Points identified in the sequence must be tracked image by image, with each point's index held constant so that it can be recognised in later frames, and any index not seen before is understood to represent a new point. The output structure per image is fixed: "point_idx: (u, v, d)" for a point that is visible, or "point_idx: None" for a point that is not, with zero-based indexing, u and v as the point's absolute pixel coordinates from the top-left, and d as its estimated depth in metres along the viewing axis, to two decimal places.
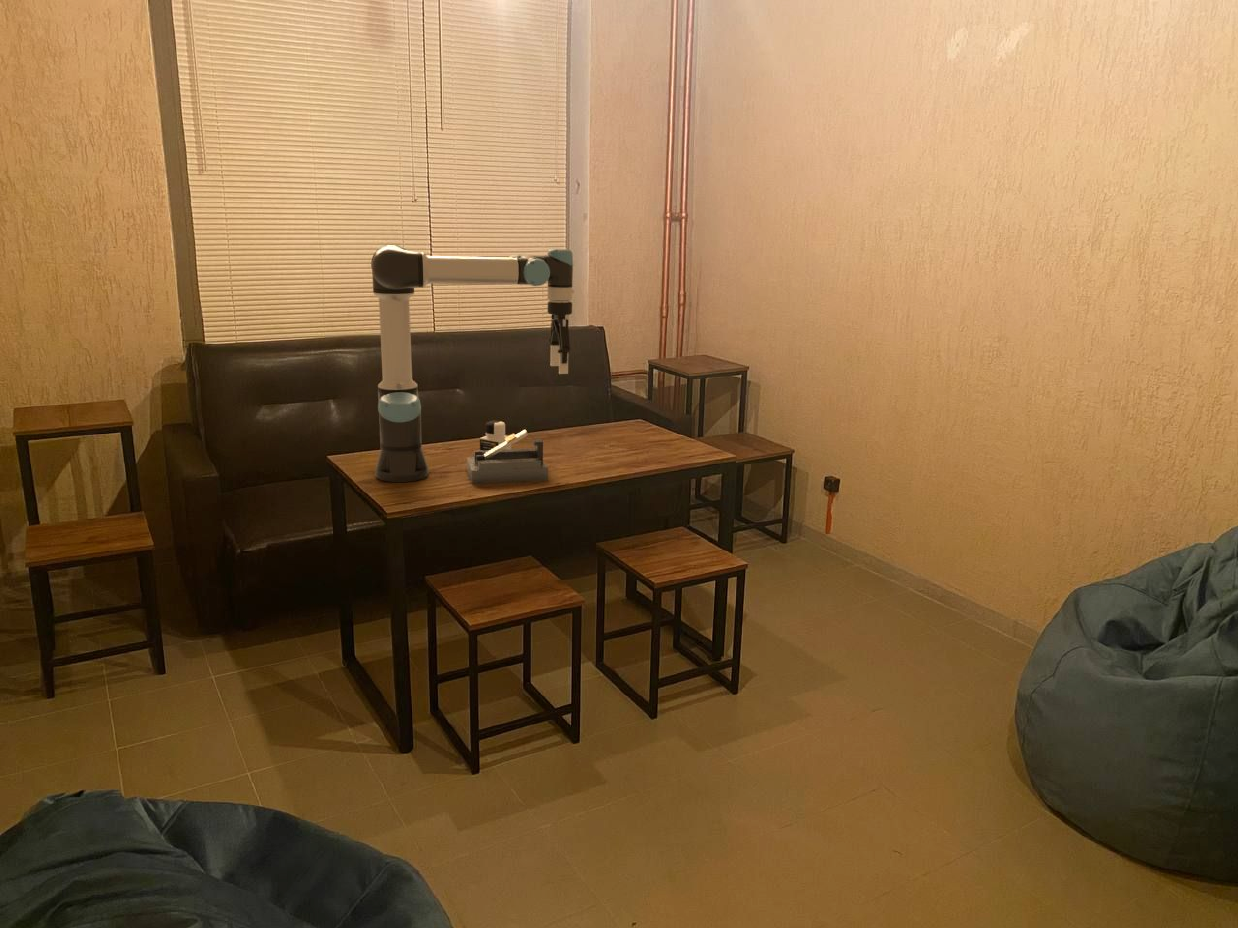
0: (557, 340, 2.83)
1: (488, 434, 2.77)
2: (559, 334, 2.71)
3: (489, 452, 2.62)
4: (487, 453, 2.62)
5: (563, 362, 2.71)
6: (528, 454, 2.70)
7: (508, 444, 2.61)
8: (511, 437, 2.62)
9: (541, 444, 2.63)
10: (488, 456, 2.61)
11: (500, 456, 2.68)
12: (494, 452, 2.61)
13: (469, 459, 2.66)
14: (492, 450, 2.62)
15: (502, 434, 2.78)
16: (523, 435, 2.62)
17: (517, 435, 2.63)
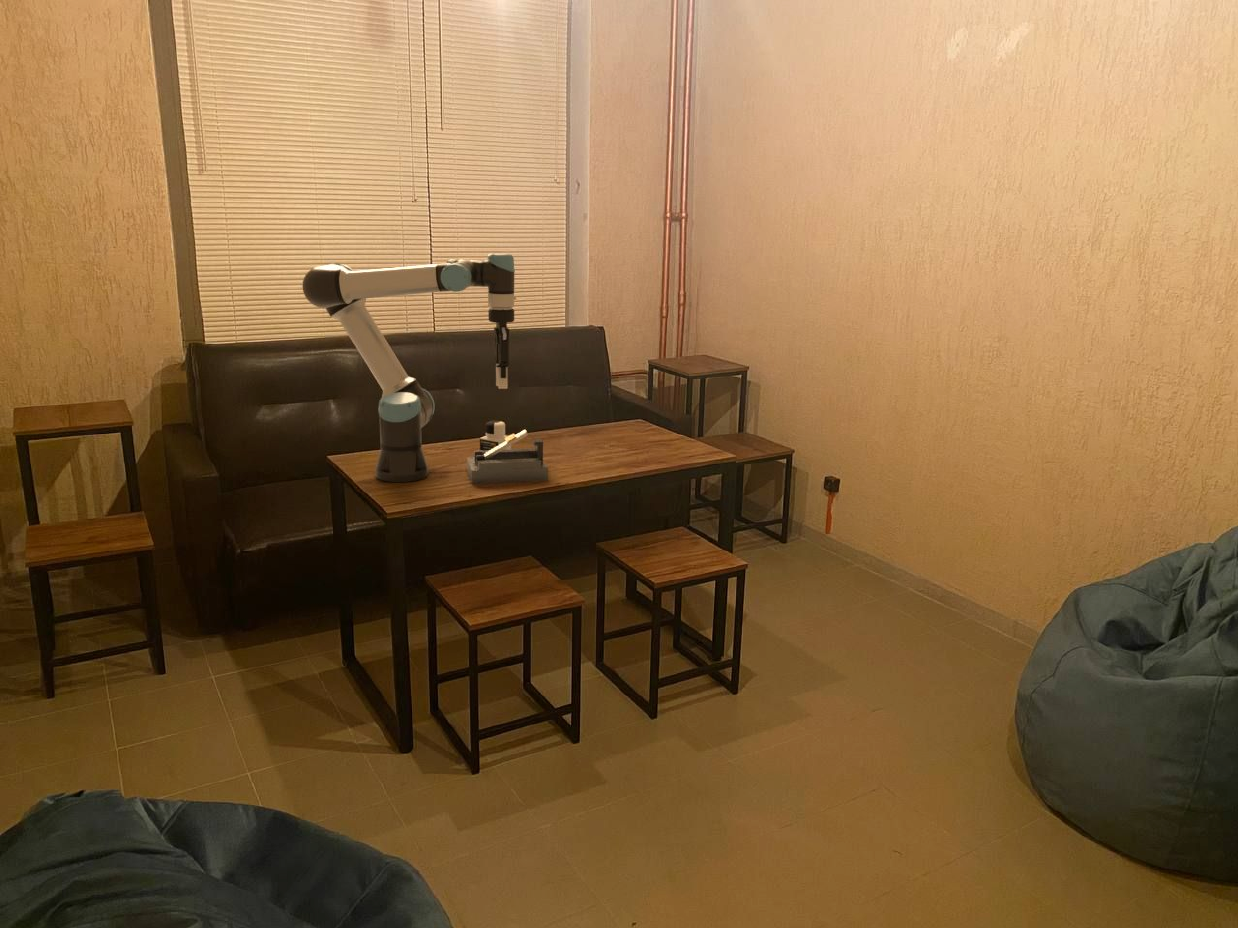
0: None
1: (488, 434, 2.77)
2: (499, 346, 2.61)
3: (489, 452, 2.62)
4: (487, 453, 2.62)
5: (502, 377, 2.63)
6: (528, 454, 2.70)
7: (508, 444, 2.61)
8: (511, 437, 2.62)
9: (541, 444, 2.63)
10: (488, 456, 2.61)
11: (500, 456, 2.68)
12: (494, 452, 2.61)
13: (469, 459, 2.66)
14: (492, 450, 2.62)
15: (502, 434, 2.78)
16: (523, 435, 2.62)
17: (517, 435, 2.63)
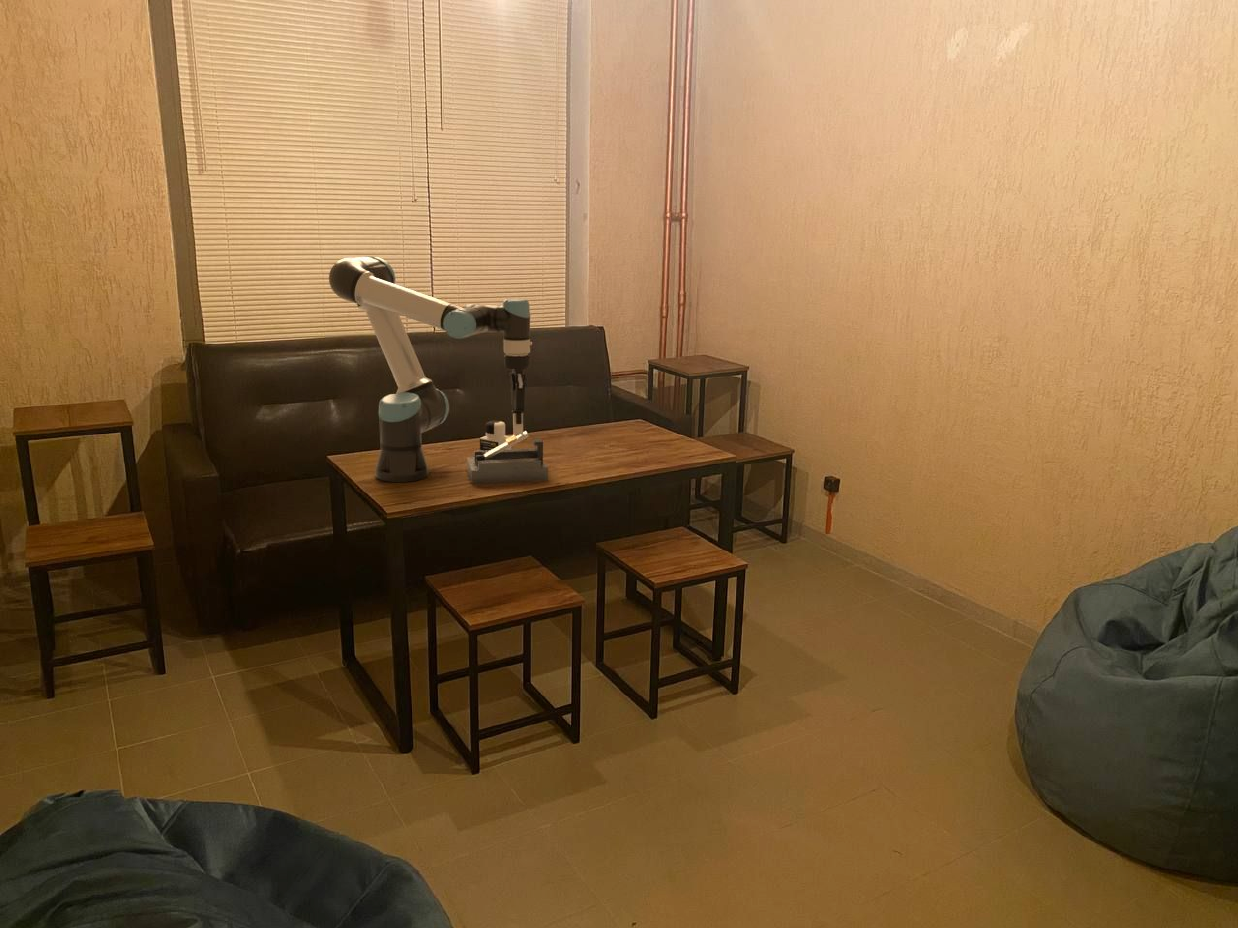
0: None
1: (488, 434, 2.77)
2: (515, 393, 2.57)
3: (489, 452, 2.62)
4: (487, 453, 2.62)
5: (517, 423, 2.60)
6: (528, 454, 2.70)
7: (509, 445, 2.61)
8: (511, 438, 2.63)
9: (541, 444, 2.63)
10: (488, 456, 2.61)
11: (500, 456, 2.68)
12: (495, 452, 2.61)
13: (469, 459, 2.66)
14: (492, 450, 2.62)
15: (502, 434, 2.78)
16: (524, 436, 2.62)
17: (518, 436, 2.63)
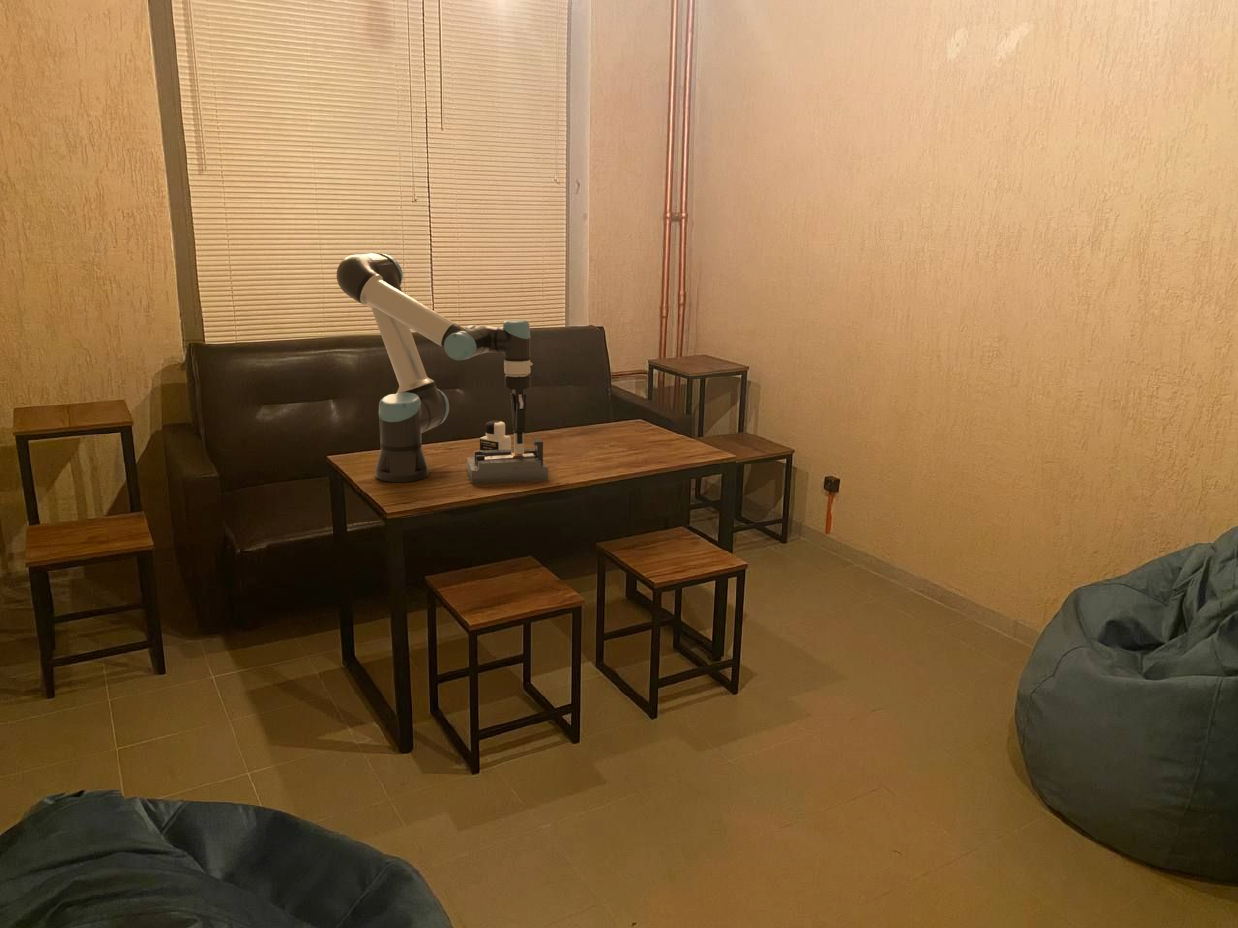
0: None
1: (488, 434, 2.77)
2: (516, 413, 2.59)
3: (492, 457, 2.62)
4: (489, 457, 2.62)
5: (518, 442, 2.61)
6: None
7: (512, 459, 2.63)
8: None
9: (541, 444, 2.63)
10: None
11: None
12: (497, 459, 2.62)
13: (469, 459, 2.66)
14: (495, 457, 2.63)
15: (502, 434, 2.78)
16: (530, 457, 2.64)
17: (524, 455, 2.65)
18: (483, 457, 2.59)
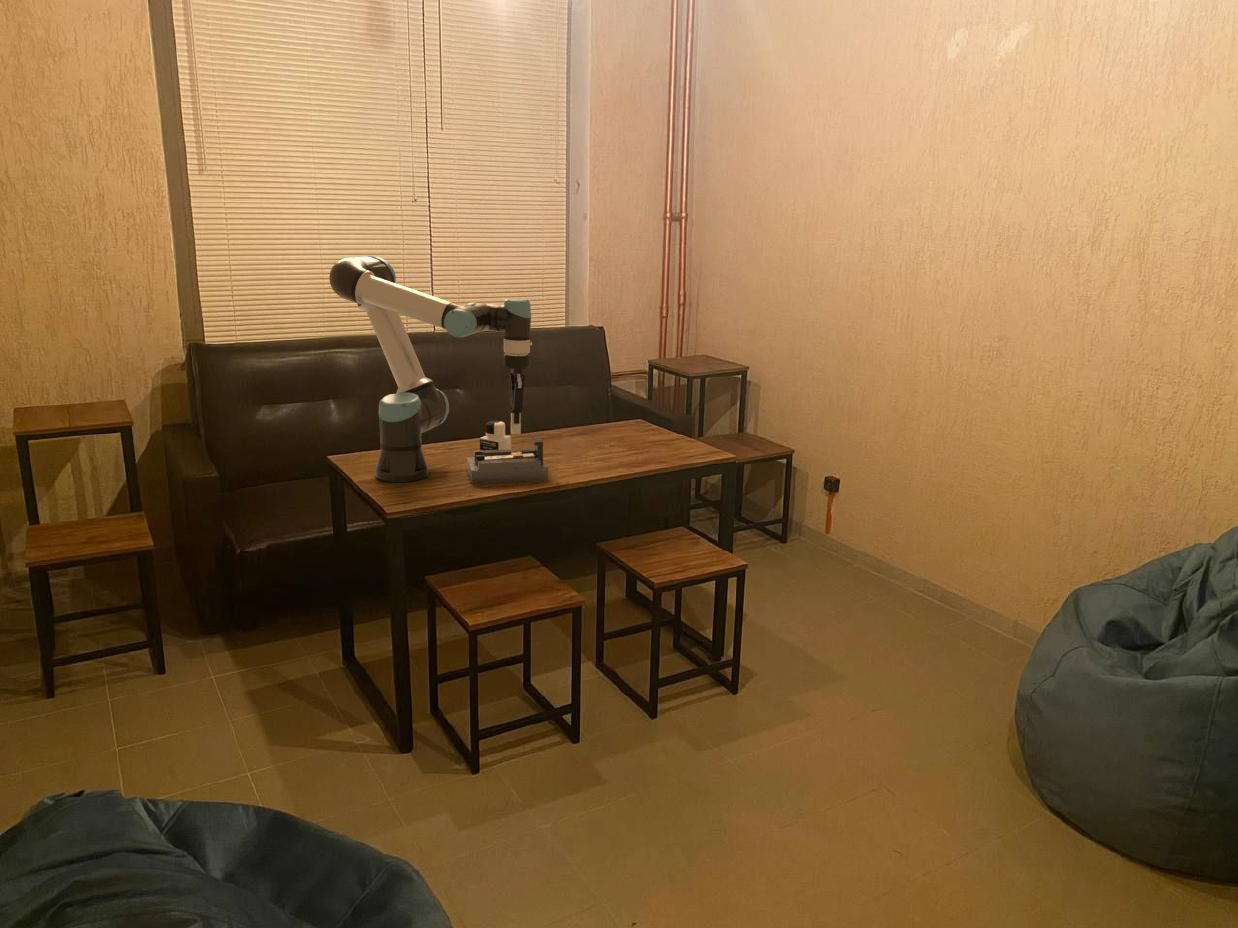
0: None
1: (488, 434, 2.77)
2: (513, 392, 2.57)
3: (492, 457, 2.62)
4: (489, 457, 2.62)
5: (515, 422, 2.60)
6: None
7: (512, 459, 2.63)
8: (518, 453, 2.64)
9: (541, 444, 2.63)
10: None
11: None
12: (497, 459, 2.62)
13: (469, 459, 2.66)
14: (495, 457, 2.63)
15: (502, 434, 2.78)
16: (530, 457, 2.64)
17: (524, 455, 2.65)
18: (483, 457, 2.59)
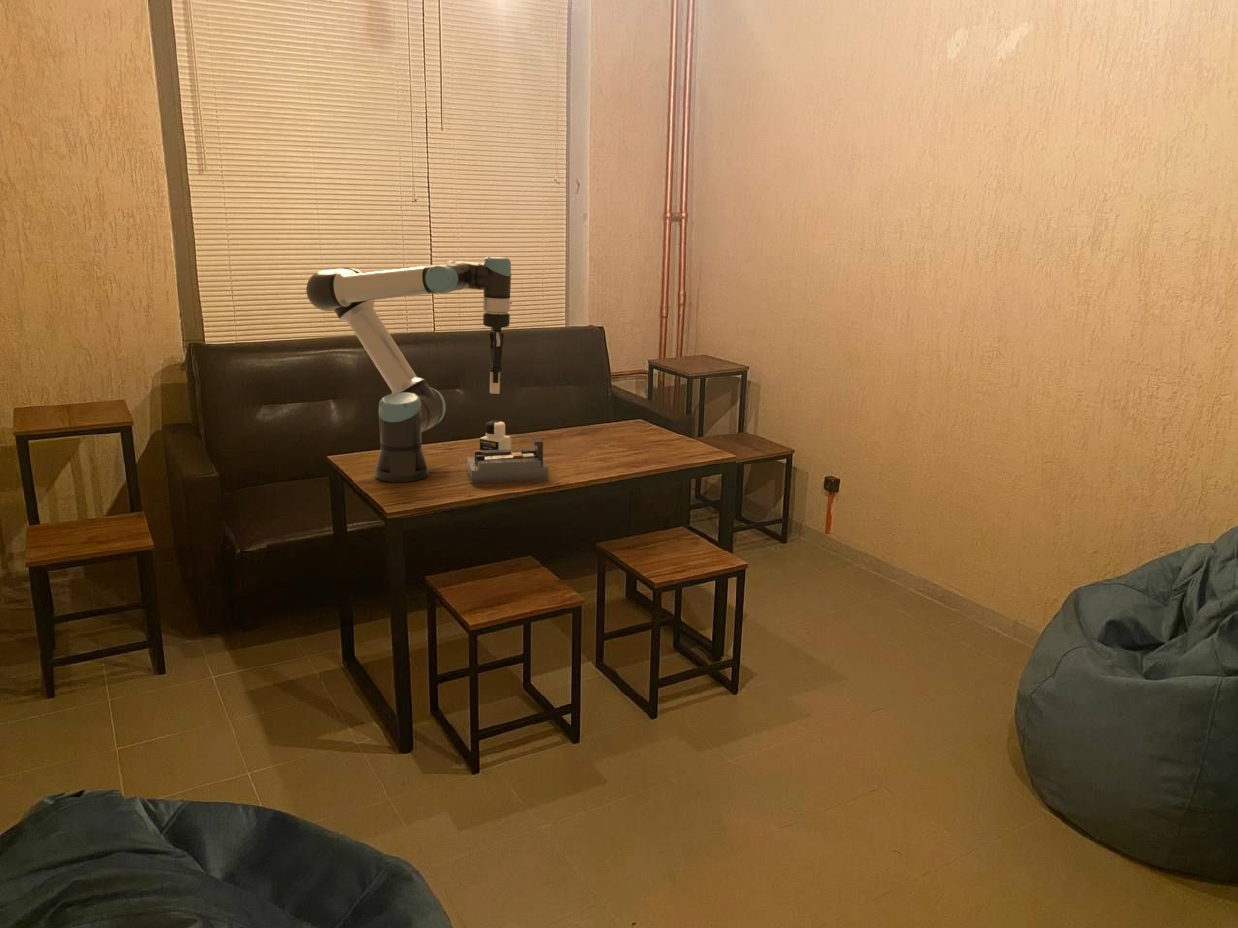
0: None
1: (488, 434, 2.77)
2: (493, 351, 2.57)
3: (492, 457, 2.62)
4: (489, 457, 2.62)
5: (494, 381, 2.60)
6: None
7: (512, 459, 2.63)
8: (518, 453, 2.64)
9: (541, 444, 2.63)
10: None
11: None
12: (497, 459, 2.62)
13: (469, 459, 2.66)
14: (495, 457, 2.63)
15: (502, 434, 2.78)
16: (530, 457, 2.64)
17: (524, 455, 2.65)
18: (483, 457, 2.59)
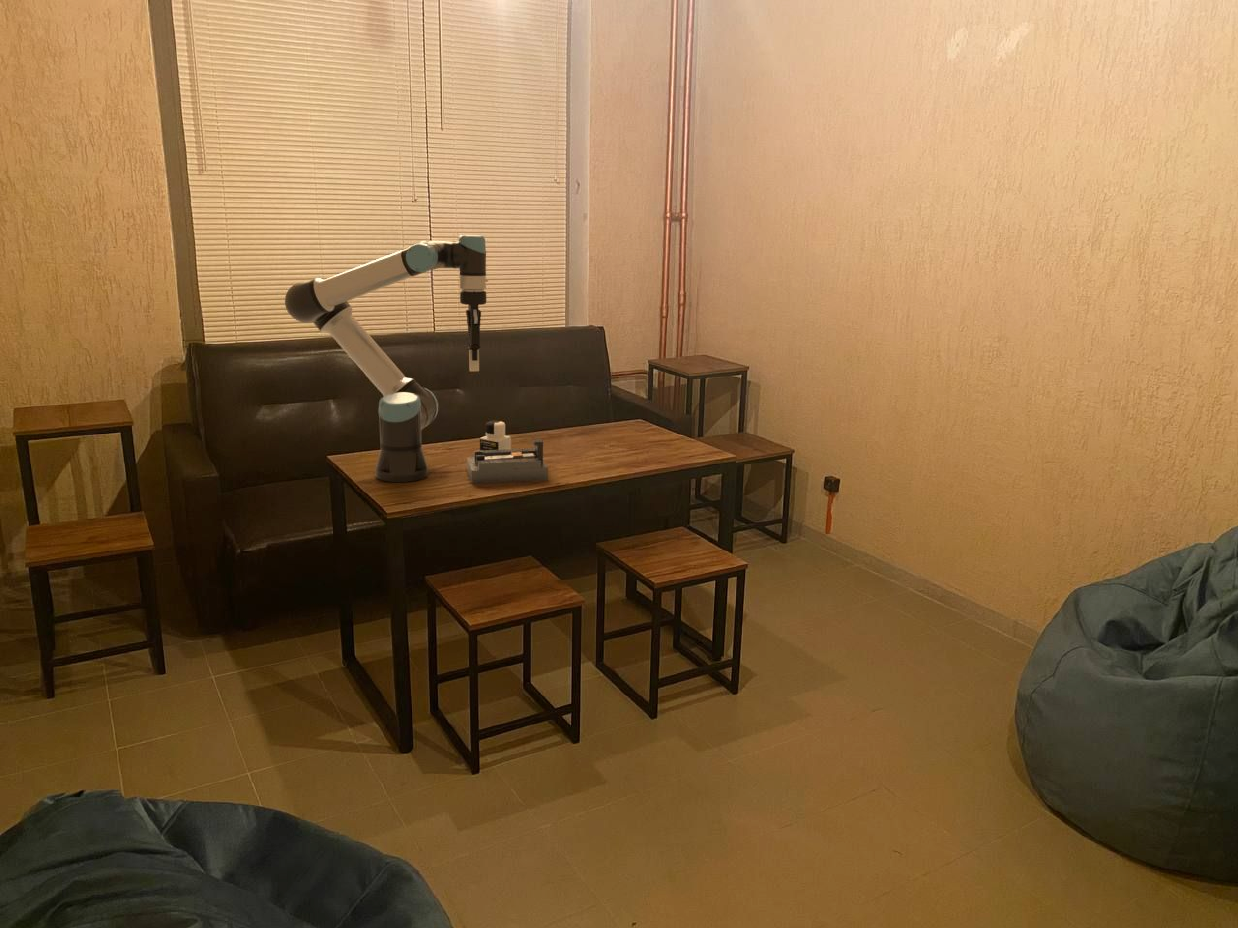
0: None
1: (488, 434, 2.77)
2: (471, 329, 2.60)
3: (492, 457, 2.62)
4: (489, 457, 2.62)
5: (473, 359, 2.62)
6: None
7: (512, 459, 2.63)
8: (518, 453, 2.64)
9: (541, 444, 2.63)
10: None
11: None
12: (497, 459, 2.62)
13: (469, 459, 2.66)
14: (495, 457, 2.63)
15: (502, 434, 2.78)
16: (530, 457, 2.64)
17: (524, 455, 2.65)
18: (483, 457, 2.59)
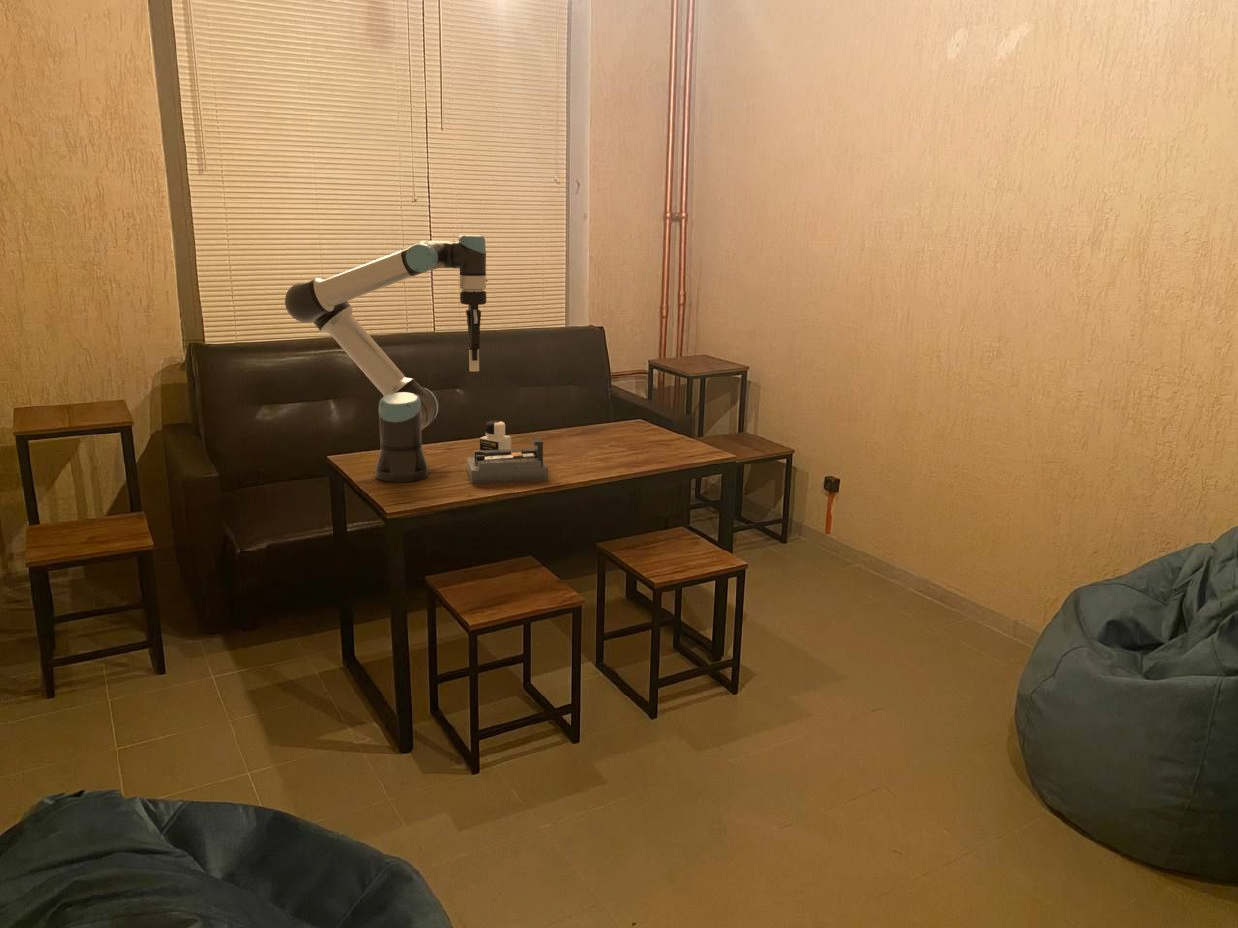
0: None
1: (488, 434, 2.77)
2: (471, 329, 2.60)
3: (492, 457, 2.62)
4: (489, 457, 2.62)
5: (473, 359, 2.62)
6: None
7: (512, 459, 2.63)
8: (518, 453, 2.64)
9: (541, 444, 2.63)
10: None
11: None
12: (497, 459, 2.62)
13: (469, 459, 2.66)
14: (495, 457, 2.63)
15: (502, 434, 2.78)
16: (530, 457, 2.64)
17: (524, 455, 2.65)
18: (483, 457, 2.59)
